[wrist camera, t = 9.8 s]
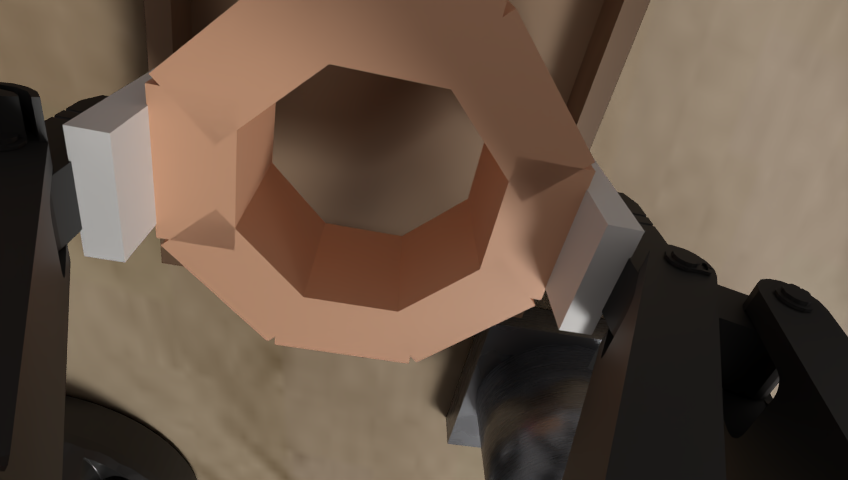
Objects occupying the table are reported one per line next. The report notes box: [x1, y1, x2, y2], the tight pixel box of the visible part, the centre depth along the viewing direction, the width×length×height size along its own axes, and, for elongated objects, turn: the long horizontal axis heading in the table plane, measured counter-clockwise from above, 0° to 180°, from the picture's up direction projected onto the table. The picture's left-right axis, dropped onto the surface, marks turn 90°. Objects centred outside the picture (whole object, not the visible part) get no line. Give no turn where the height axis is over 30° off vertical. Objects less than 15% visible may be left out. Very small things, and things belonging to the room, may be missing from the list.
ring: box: [145, 0, 596, 364], centre depth 13 cm, size 9×9×4 cm
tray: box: [144, 0, 650, 318], centre depth 17 cm, size 13×13×2 cm
